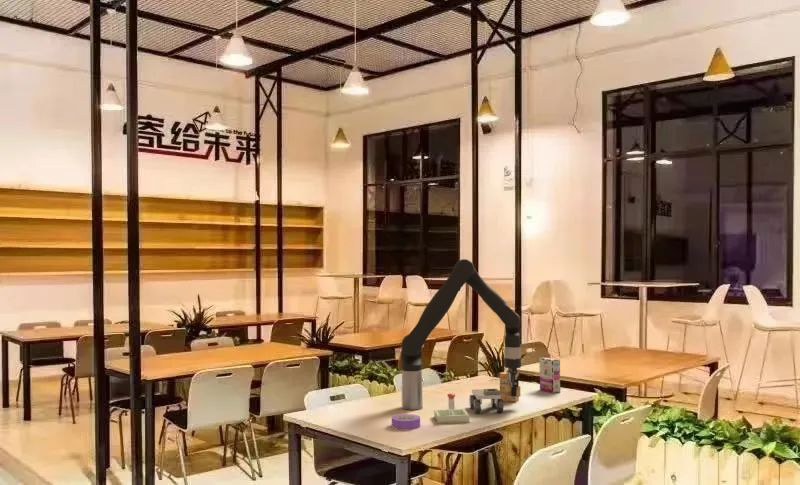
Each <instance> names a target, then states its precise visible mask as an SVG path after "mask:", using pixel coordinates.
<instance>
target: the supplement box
mask: <svg viewBox="0 0 800 485" xmlns="http://www.w3.org/2000/svg"><path fill="white" fill-rule="evenodd" d="M519 374H520V373H518V375H519ZM519 376H520V375H519ZM514 384H515V383H514ZM505 385H508V383H507V372H503V371H502V372H499V391H500V395H501V399H502V400H503V402H511V403H518V402H519V400H520V397H507V396H506V395H505ZM518 385H519V386H520V384H519V383H518Z"/></svg>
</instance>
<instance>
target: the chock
mask: <svg viewBox="0 0 800 485" xmlns="http://www.w3.org/2000/svg"><path fill="white" fill-rule="evenodd" d="M505 395H506V396H507V397H519V398H520V397H521V386H520V384H519V385H518V387H517V395H516V396H512V395H511V385H505Z"/></svg>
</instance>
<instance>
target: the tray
mask: <svg viewBox="0 0 800 485" xmlns="http://www.w3.org/2000/svg"><path fill="white" fill-rule="evenodd" d="M433 413H434V414H433V417H434V419H435V421H436V422H437V424H439V425H440V424H465V423H466V424H467V423H468V424H469V423H470V415H469V413H468V412H467V411H466V409H465V408H454V415H449V408H448V409H434V410H433Z"/></svg>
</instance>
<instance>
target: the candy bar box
mask: <svg viewBox="0 0 800 485" xmlns="http://www.w3.org/2000/svg"><path fill="white" fill-rule="evenodd" d="M538 360H539V361H538V362H539V390H540V391H544V392H548V393H552V394H558V393H561V360H560V359H558V358H551V357H539V359H538Z"/></svg>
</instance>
